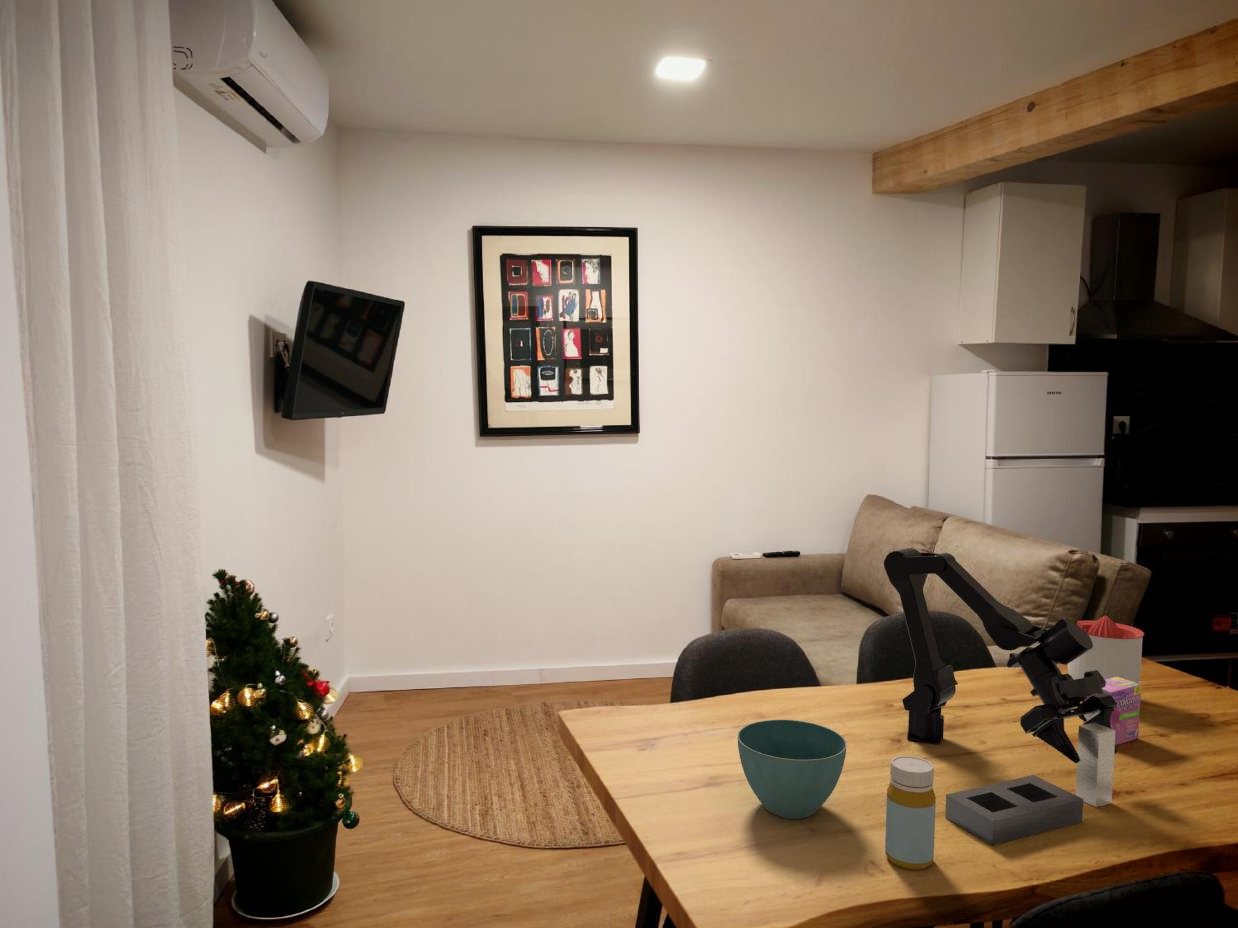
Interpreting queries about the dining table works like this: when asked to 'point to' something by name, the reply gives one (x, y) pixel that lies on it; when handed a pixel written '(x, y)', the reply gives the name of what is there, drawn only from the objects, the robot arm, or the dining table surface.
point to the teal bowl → (791, 764)
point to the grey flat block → (1013, 809)
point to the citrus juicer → (1110, 651)
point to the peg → (1095, 764)
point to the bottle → (910, 813)
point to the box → (1124, 708)
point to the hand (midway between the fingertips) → (1096, 757)
